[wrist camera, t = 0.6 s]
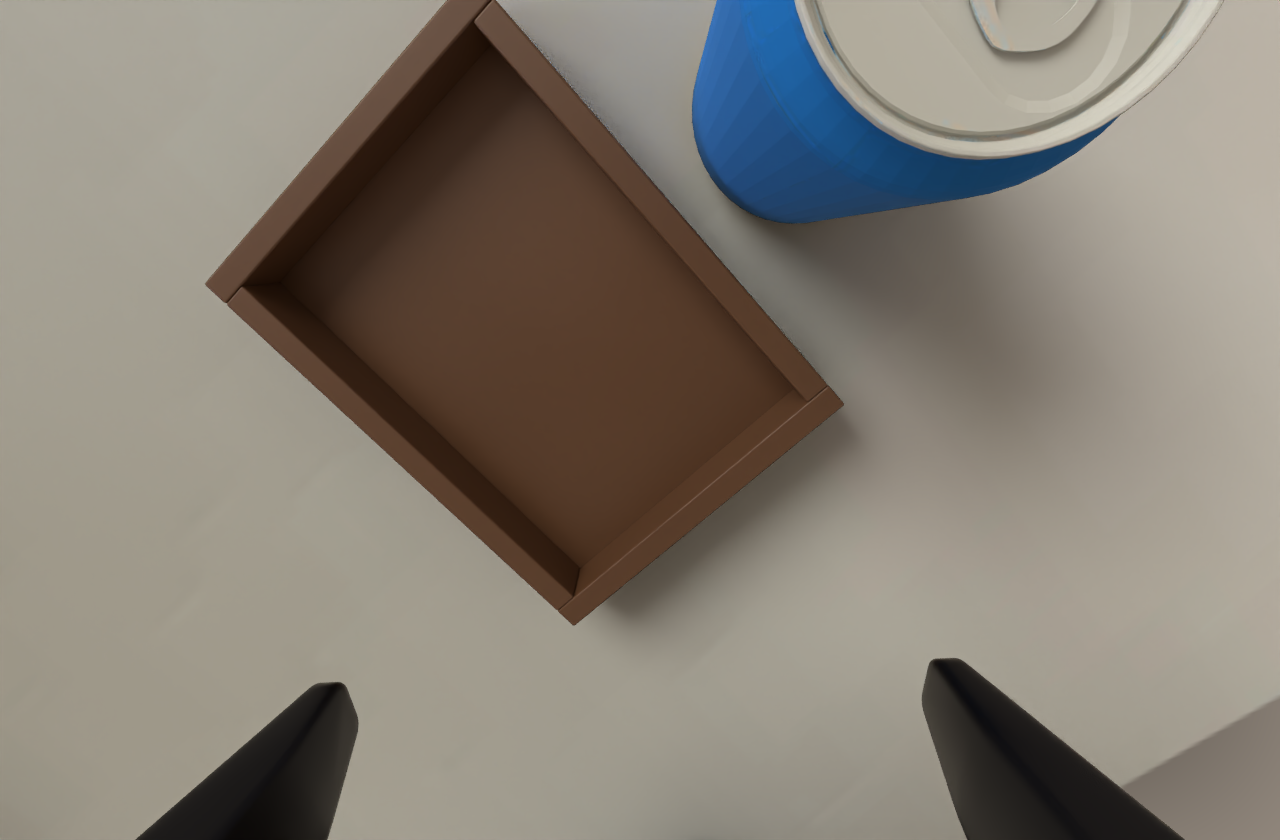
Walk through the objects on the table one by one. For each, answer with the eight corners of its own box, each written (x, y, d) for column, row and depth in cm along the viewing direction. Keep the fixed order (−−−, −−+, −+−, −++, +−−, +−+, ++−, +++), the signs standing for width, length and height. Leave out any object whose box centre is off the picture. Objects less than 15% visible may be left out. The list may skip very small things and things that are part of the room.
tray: (822, 385, 21) (845, 404, 19) (582, 586, 23) (573, 626, 21) (495, 8, 18) (470, -30, 16) (257, 279, 21) (203, 284, 18)
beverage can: (850, -54, 18) (1229, -627, 6) (934, 158, 19) (1367, 22, 8) (652, 69, 19) (655, -226, 7) (747, 261, 20) (878, 281, 8)
